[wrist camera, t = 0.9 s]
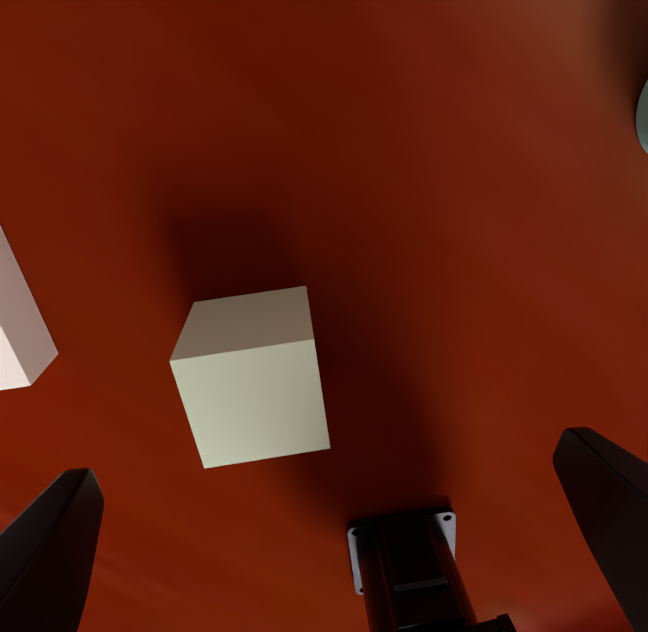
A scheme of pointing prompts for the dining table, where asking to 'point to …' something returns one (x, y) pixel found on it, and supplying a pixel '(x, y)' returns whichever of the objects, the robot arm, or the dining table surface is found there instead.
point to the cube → (251, 377)
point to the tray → (20, 327)
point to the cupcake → (643, 118)
